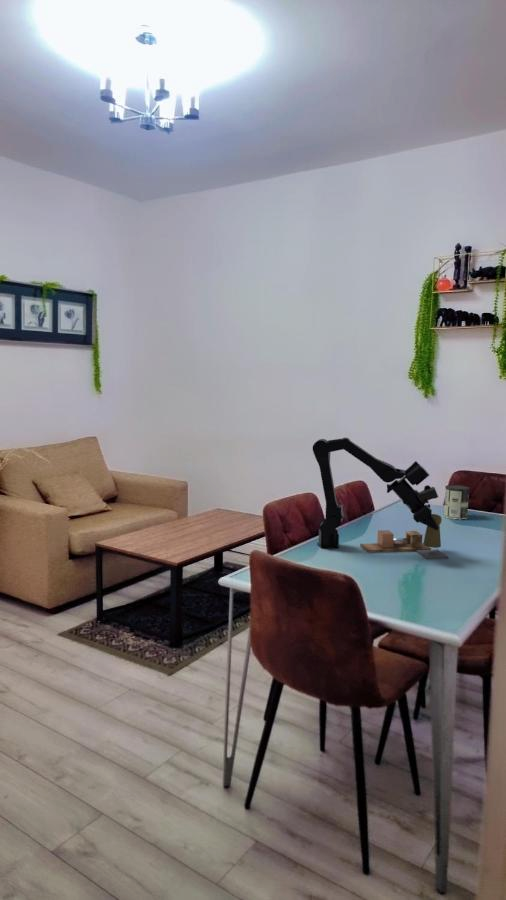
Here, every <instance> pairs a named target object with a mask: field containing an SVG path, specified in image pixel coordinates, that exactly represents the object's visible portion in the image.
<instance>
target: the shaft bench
mask: <svg viewBox="0 0 506 900" xmlns="http://www.w3.org/2000/svg"><path fill="white" fill-rule="evenodd" d="M423 535H424V534H423V533H420V532H419V531H417V530H406V531H405V538H407V545H393V547H388V548H382V547H381V546H380V545H378V544H377V542H375V543H360V544H359V547H360V548H361V547H362V548H361V549H363V550H364V551H365V552H366V553H369V554H371V553H373V554H374V553H377V554H378V553H406V552H408V553H409V552H410V553H412V552H413V553H414V552H415V553H417V550H432V547H427V546H424V545H423V543H424V542H423Z"/></svg>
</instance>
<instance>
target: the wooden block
mask: <svg viewBox="0 0 506 900" xmlns="http://www.w3.org/2000/svg"><path fill="white" fill-rule="evenodd" d="M394 535H395V534H394V533H393V532H391V531H390V530H389V529H388V530H381V529H380V530H377V539H376V540H377V541H376V543H377V544H378V545H380V546H381V547H382V548H388V547H393V545H407V538H406V537H402V538H401V537H400V538H399V537H394Z"/></svg>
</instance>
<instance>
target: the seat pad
mask: <svg viewBox="0 0 506 900" xmlns="http://www.w3.org/2000/svg"><path fill="white" fill-rule="evenodd" d="M416 553H417V554H418V555H420V557H423V558H424V559H426V560H442V559H443V560H445V559H449V555H447V554H445V553H444V552H442V551H440V550H439V549H431V550H417V552H416Z"/></svg>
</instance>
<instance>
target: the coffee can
mask: <svg viewBox="0 0 506 900" xmlns="http://www.w3.org/2000/svg"><path fill="white" fill-rule="evenodd" d="M444 487H445V494H444V509H443V510H444V511H443V513H444V514H443V517H444V518H445V517H446V519H448V518H450V519H449V520H454V519H459V520H458V521H462V520H461V519H465V520H467V519H468V514H469V513H468V512H469V511H468V510H469V500H470V499H469V496H470V487H468V486H465V485H460V484H459V485H458V484H448V485H445V486H444Z"/></svg>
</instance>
